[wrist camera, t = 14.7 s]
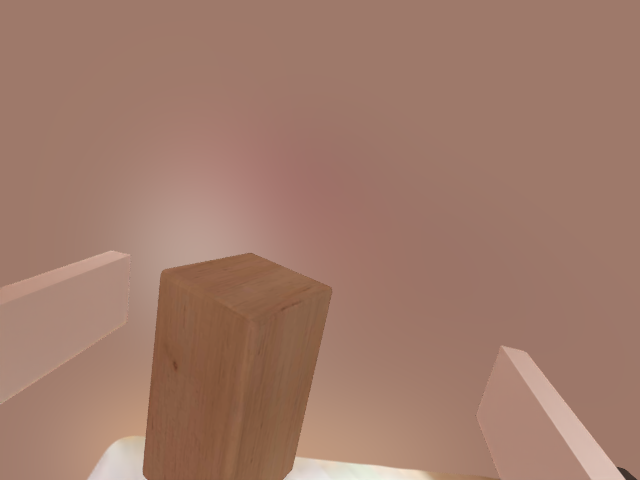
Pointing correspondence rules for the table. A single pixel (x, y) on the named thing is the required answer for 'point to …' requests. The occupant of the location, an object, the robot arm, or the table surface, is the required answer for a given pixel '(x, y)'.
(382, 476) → the table surface
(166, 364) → the wooden block
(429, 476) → the table surface
